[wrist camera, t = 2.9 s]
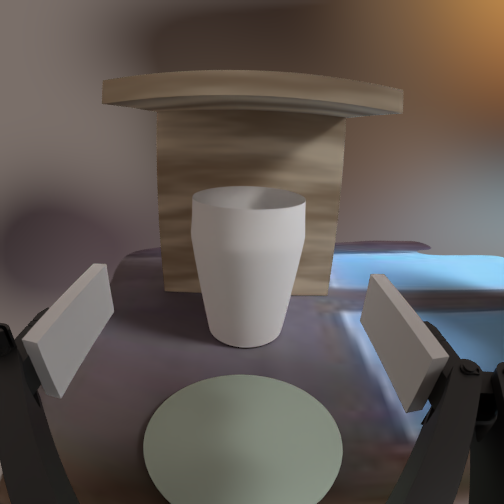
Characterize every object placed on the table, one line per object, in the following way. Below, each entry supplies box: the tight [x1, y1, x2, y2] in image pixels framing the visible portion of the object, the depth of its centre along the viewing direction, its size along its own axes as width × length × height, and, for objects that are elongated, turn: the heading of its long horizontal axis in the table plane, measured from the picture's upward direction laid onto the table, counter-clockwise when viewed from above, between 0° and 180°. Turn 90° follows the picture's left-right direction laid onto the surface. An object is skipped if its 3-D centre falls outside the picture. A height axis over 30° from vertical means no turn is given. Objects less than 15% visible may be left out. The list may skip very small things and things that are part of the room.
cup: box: [191, 186, 306, 348], centre depth 26 cm, size 9×9×12 cm
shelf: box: [102, 70, 403, 296], centre depth 25 cm, size 14×18×20 cm
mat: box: [143, 375, 343, 504], centre depth 16 cm, size 12×12×1 cm
